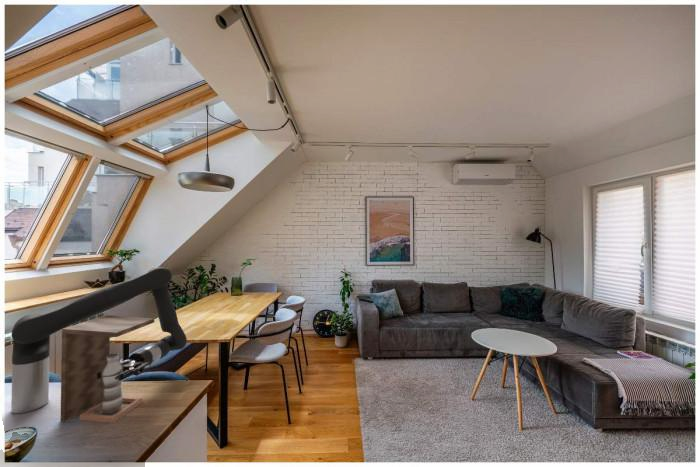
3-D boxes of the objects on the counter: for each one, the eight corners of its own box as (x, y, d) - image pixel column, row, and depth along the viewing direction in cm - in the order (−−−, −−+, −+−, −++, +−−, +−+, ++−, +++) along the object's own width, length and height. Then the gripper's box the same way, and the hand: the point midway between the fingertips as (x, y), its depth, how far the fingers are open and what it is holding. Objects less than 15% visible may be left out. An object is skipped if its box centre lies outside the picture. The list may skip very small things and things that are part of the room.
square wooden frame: (113, 398, 112) (113, 395, 112) (142, 401, 111) (142, 397, 111) (79, 419, 100) (79, 415, 100) (112, 423, 99) (112, 418, 99)
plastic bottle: (96, 418, 101) (97, 360, 101) (104, 407, 107) (105, 353, 107) (119, 414, 103) (119, 358, 103) (126, 403, 110) (126, 350, 109)
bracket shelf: (105, 395, 115) (106, 315, 115) (152, 399, 112) (154, 318, 112) (60, 421, 99) (62, 328, 99) (114, 427, 97) (116, 332, 96)
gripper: (129, 347, 120) (90, 365, 104) (161, 349, 119) (126, 368, 103) (129, 365, 121) (90, 385, 104) (161, 368, 119) (126, 389, 103)
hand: (108, 377), depth 104 cm, fingers open, 8 cm apart
